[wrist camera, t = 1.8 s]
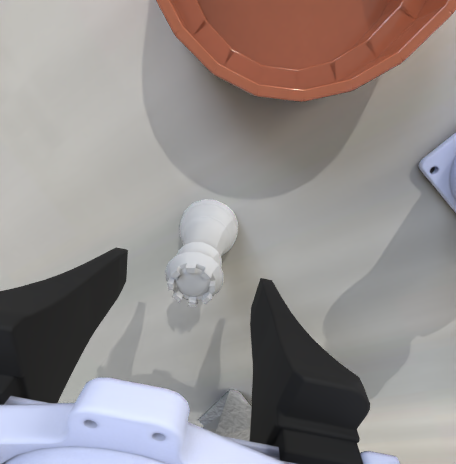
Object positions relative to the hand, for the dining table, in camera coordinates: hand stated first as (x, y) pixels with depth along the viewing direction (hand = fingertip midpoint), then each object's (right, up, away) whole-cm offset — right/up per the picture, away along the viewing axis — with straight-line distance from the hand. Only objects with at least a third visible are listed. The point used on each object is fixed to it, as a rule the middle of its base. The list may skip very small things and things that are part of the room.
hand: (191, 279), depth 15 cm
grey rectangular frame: (+2, -16, +16) cm, 23 cm away
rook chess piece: (+1, +3, +7) cm, 8 cm away
